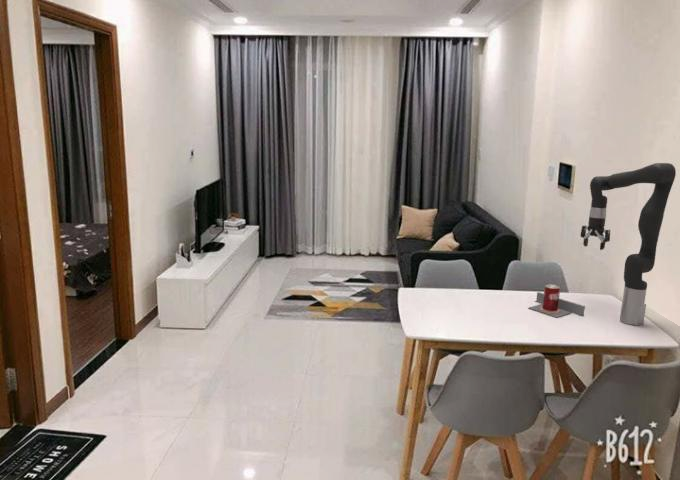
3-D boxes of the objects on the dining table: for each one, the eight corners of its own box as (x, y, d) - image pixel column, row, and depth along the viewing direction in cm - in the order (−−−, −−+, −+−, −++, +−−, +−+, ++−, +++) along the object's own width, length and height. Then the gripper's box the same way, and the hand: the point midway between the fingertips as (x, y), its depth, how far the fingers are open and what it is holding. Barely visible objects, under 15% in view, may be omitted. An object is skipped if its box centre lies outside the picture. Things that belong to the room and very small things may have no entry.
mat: (571, 313, 272) (571, 312, 272) (556, 318, 265) (557, 316, 265) (542, 304, 285) (543, 303, 285) (528, 308, 278) (528, 307, 278)
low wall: (583, 315, 270) (584, 306, 269) (582, 316, 269) (583, 306, 268) (537, 301, 290) (538, 292, 289) (536, 301, 290) (537, 292, 289)
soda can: (538, 308, 277) (541, 285, 274) (549, 306, 280) (552, 283, 277) (550, 312, 271) (552, 289, 268) (560, 311, 274) (563, 287, 271)
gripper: (580, 214, 281) (576, 246, 284) (607, 219, 269) (602, 251, 273) (588, 213, 285) (584, 244, 288) (615, 217, 274) (611, 249, 277)
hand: (593, 247), depth 280 cm, fingers open, 8 cm apart
